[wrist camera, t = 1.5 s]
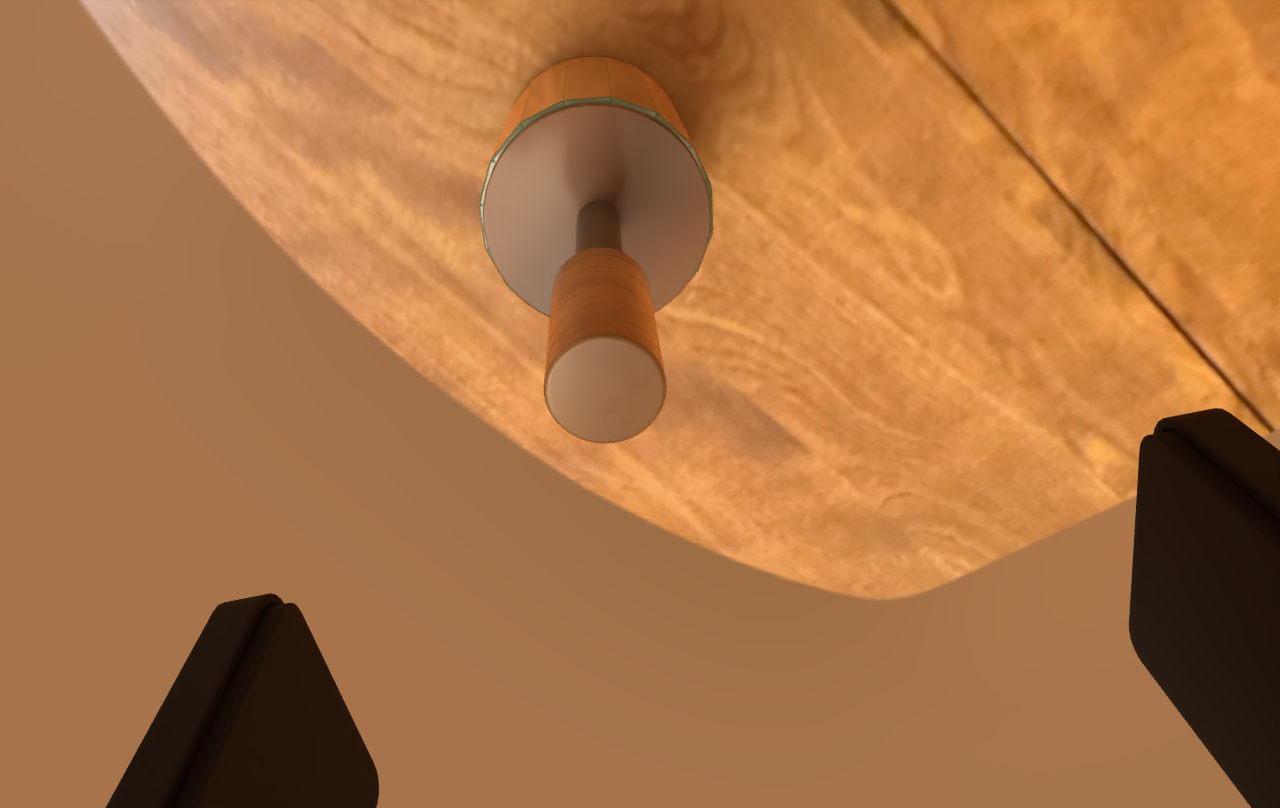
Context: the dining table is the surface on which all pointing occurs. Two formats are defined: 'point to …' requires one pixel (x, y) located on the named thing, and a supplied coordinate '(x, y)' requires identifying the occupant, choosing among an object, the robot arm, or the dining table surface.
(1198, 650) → the robot arm
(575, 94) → the holder
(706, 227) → the brush
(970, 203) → the dining table surface
